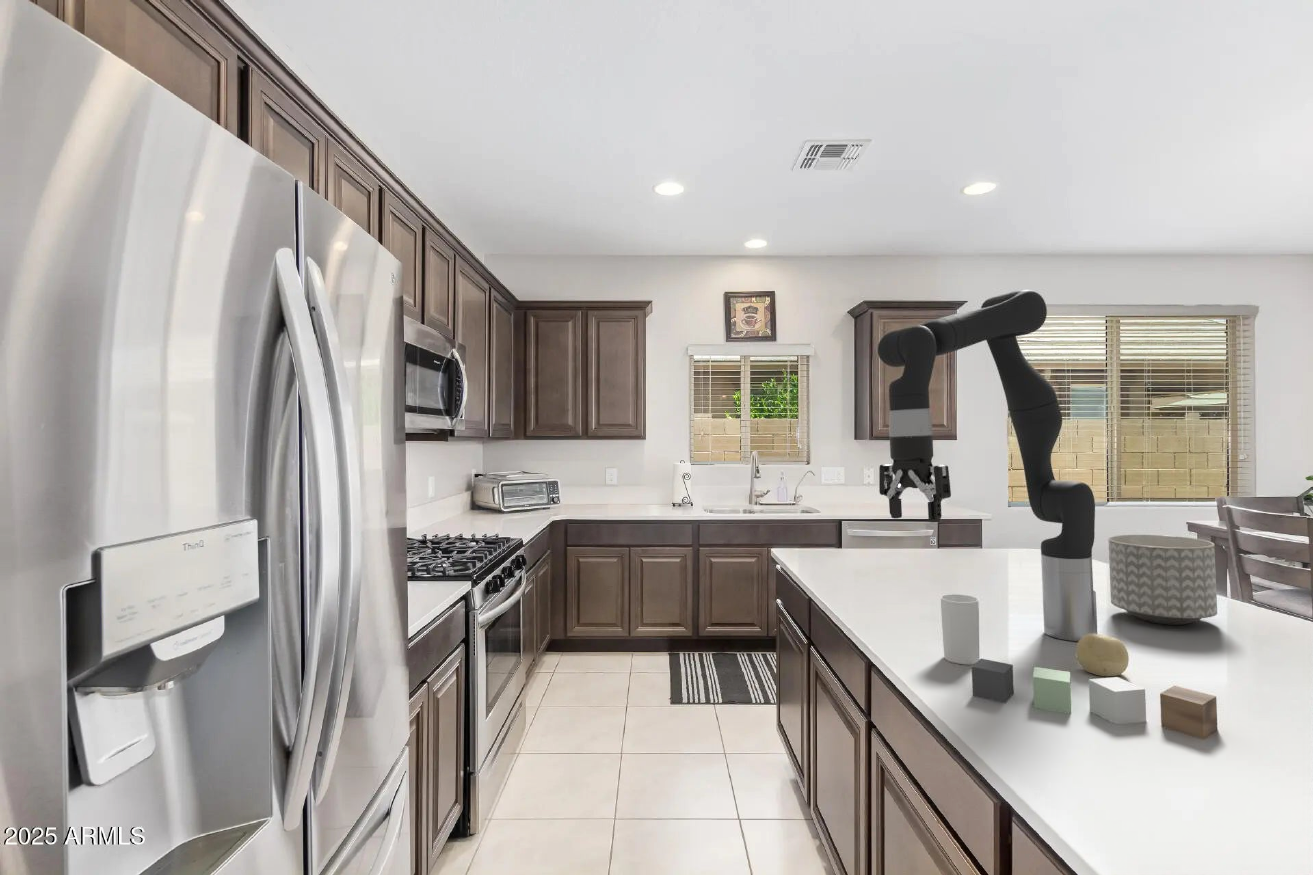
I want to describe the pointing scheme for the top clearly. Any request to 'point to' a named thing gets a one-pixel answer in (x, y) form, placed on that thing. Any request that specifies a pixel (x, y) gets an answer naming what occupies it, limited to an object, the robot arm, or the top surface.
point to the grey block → (1117, 700)
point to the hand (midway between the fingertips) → (914, 519)
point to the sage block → (1052, 690)
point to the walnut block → (1188, 712)
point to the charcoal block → (992, 680)
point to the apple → (1102, 655)
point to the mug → (960, 628)
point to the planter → (1163, 577)
